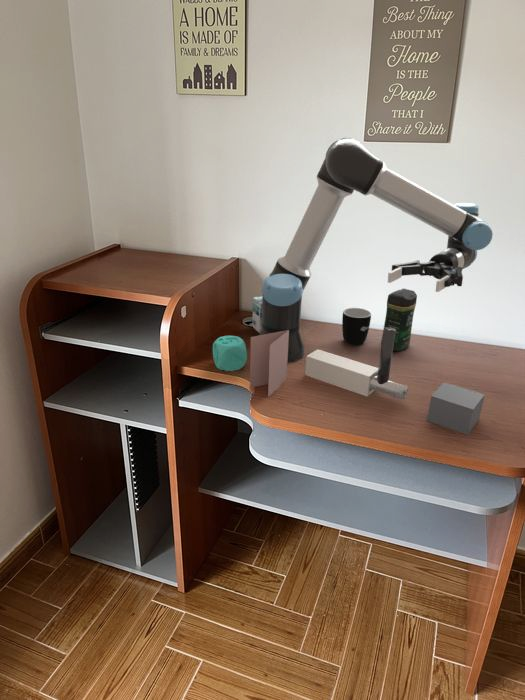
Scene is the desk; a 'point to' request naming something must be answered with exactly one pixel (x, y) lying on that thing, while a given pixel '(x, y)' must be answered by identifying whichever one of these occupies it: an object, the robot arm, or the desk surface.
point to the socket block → (455, 408)
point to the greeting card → (269, 360)
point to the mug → (355, 325)
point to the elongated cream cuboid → (340, 371)
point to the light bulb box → (257, 313)
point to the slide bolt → (387, 368)
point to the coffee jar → (400, 316)
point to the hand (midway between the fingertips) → (412, 282)
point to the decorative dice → (229, 353)
